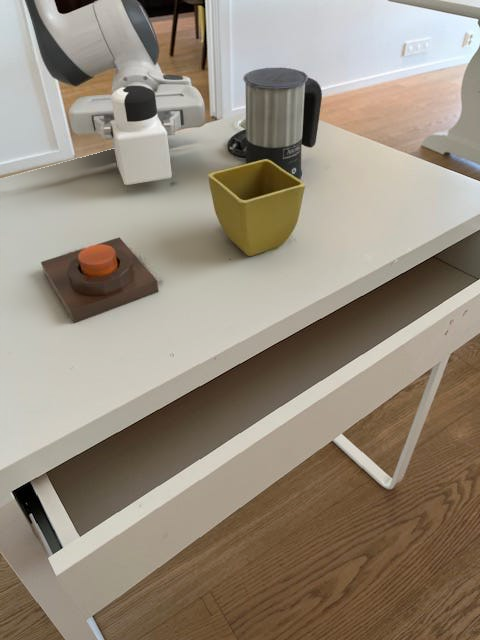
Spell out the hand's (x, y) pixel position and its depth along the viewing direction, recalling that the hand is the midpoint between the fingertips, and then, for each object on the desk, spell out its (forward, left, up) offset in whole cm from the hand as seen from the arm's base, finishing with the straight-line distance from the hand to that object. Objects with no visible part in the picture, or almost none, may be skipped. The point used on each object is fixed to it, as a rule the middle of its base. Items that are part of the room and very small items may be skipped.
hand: (138, 132), depth 73 cm
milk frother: (+3, +19, -9) cm, 21 cm away
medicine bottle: (-1, 0, -7) cm, 7 cm away
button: (+21, -15, -5) cm, 26 cm away
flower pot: (+22, +5, -9) cm, 24 cm away
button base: (+19, -15, -9) cm, 26 cm away
